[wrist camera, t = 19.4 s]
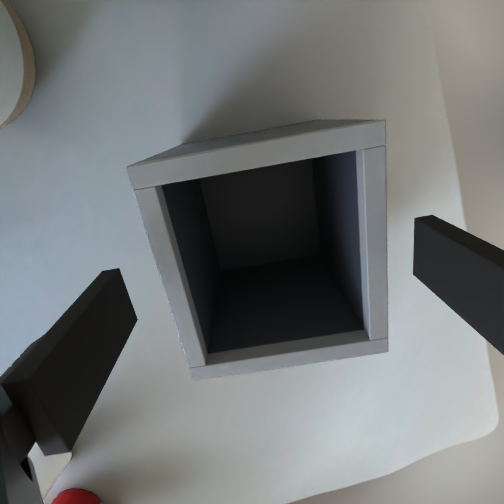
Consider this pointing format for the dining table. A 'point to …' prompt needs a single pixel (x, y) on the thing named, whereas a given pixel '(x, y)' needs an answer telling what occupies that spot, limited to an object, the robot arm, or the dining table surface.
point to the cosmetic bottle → (47, 467)
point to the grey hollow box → (272, 244)
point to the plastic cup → (76, 497)
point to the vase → (14, 65)
